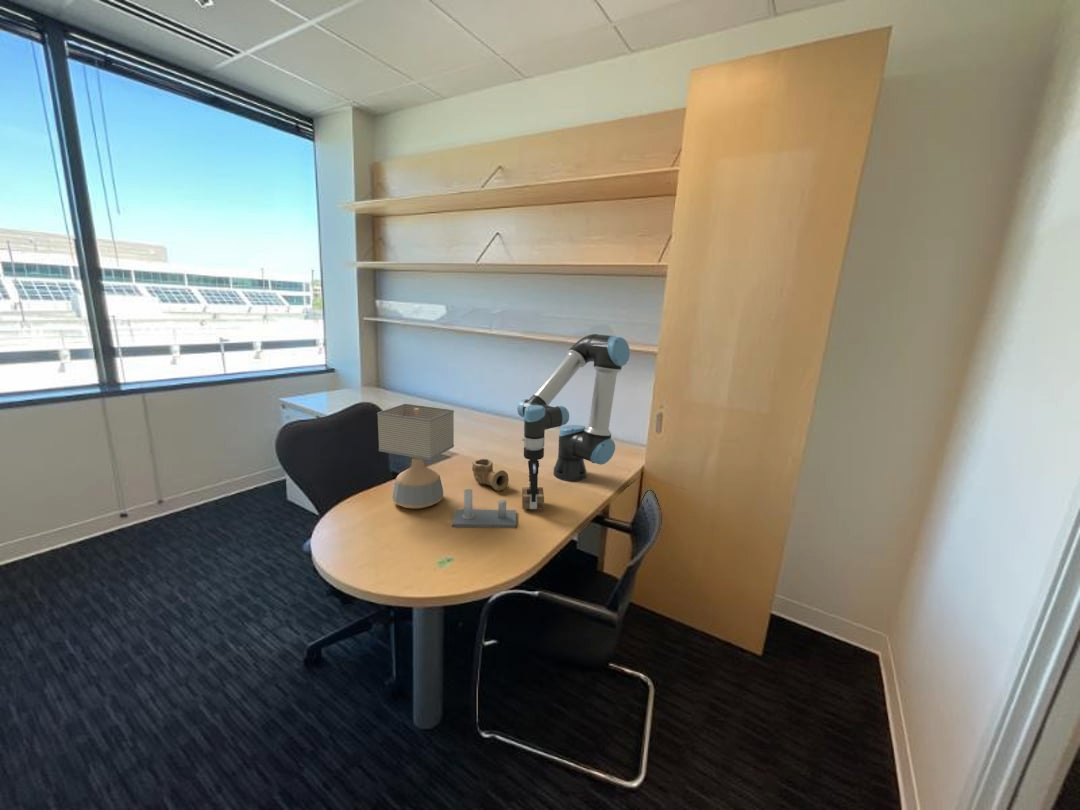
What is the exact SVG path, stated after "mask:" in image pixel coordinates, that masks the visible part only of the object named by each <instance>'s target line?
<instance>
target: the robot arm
mask: <svg viewBox="0 0 1080 810" xmlns="http://www.w3.org/2000/svg"><path fill="white" fill-rule="evenodd" d="M630 354H631V352H630V346H629V344H628V341H627V340H626V339H625V338H624V337H621V336H616V335H605V334H598V333H592V334H588V335H586V336H583V337H582V338H580V339H579V340H578V341H576V342H575V343H574V344H572V346H570V348H569V349H568V350H567V352H566V356H565V357H564V358H563V360H561V362H560V363H559V364H558V365H557V367H555V369H554V370H553V371H552V372H551V373H550V375H549V376H548V377H547V378H546V379H545V381H544V382H542V383H541V385H540V386H539V387H538V389H537V390H536V391H534V393H533V394H532V395H531V396H530V398H529V399H526V398H525V399H522V400H520V401H519V403H518V404H517V410H516V412H517V413H518V415H519V416H520V417H522V418H523V432H524V433H523V436H524V437H523V438H522V442H523V458H524V459H527V460H528V461H527V464H528V474H529V475H528V481H529V483H528V487H530V492H528V494H530V509H529V510H538V509H537V494H538V492H537V487H539V486H538V481H539V480H538V478H539V477H538V475H539V468H540V463H539V461H540V460H542V459H544V457H545V448H544V447H545V431H546V430H549V429H553V428H557V427H559V428H560V429H559V434H558V453H557V455H558V456H557V459H556V462H555V465H554V467H553V472H552V473H553V476H554V477H555V478H557V479H559V480H563V481H573V482H574V481H575V482H576V481H583V480H584V479H585V478H586V477H587V468H586V463H585V461H587V462H588V461H589V462H590V463H592V464H597V465H600V466H601V465H605V464H607V463H608V462H609V461H610V460H611V459H612V458H613V456H614V453H615V451H616V444H615V441H614V440H613V439H612V432H611V431H610V422H611V415H612V408H613V402H614V396H615V389H616V383H617V376H618V374H619V373H620V372H621V371H622V367H624V366H625V365H626V364H627V363H628V361H629V359H630ZM589 362H592V363H593V365H592V367H593V369H595V371H596V372H595V378H594V385H593V393H592V399H591V400H592V401H591V406H590V413H589V418H588V419H589V420H588V426H587V427H586V426H584V425H580V424H571V425H570V424H568V422H569V421H570V413H569V412H570V411H568V409H567V408H566V407H565V406H562V405H557V406H551V405H550V404H551V403H552V401H553V400H555V398H556V396H558V394H559V393H560V392H561V391H562V390H563V388H564V387H565V386H566V385H567V384H568V382H569V381H570V380H571V379H572V377H573V376H574V375H575V374H576V373H577V372H578V371H579V369H580V368H584V367H585V366H586V365H587V363H589ZM566 424H568V425H566ZM584 460H585V461H584Z"/></svg>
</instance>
